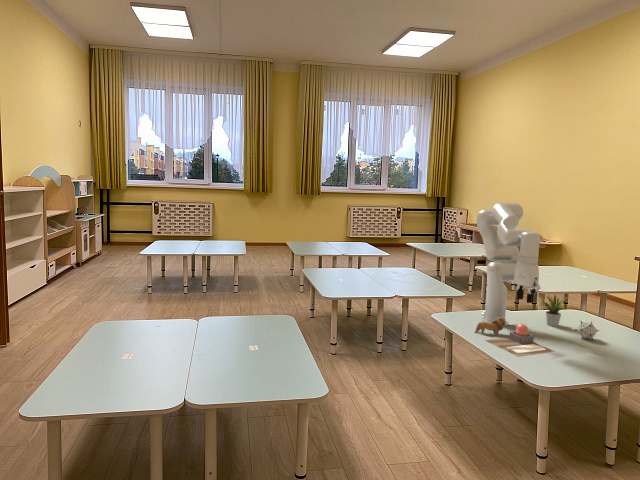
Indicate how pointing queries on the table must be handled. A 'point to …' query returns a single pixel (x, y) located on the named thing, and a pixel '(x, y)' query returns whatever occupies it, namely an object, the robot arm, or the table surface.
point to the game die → (586, 330)
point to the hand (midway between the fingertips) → (524, 300)
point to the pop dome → (522, 330)
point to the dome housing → (521, 338)
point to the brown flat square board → (519, 347)
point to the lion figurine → (491, 325)
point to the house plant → (553, 311)
